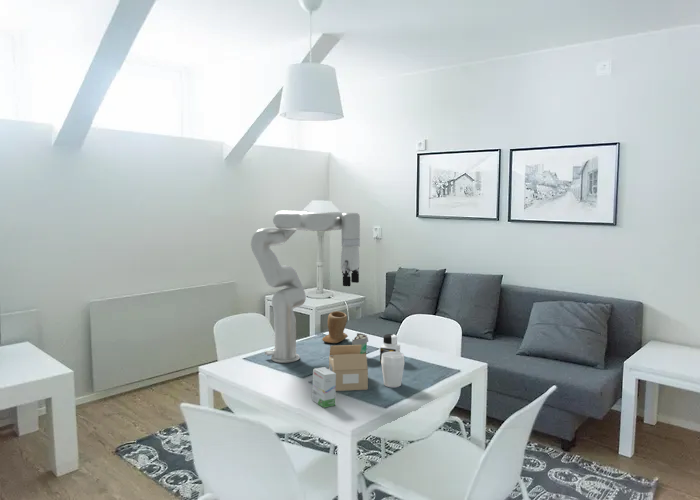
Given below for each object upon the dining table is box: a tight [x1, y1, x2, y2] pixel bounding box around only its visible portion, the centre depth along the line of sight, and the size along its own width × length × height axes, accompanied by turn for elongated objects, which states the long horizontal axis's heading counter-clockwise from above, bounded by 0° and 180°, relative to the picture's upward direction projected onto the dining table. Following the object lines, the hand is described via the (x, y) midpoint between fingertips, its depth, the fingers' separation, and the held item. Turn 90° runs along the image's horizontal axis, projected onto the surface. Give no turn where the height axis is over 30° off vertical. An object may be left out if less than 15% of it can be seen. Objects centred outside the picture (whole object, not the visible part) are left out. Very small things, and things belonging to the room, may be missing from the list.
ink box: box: [311, 366, 337, 409], centre depth 190 cm, size 9×5×12 cm, turn 33°
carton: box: [328, 355, 369, 392], centre depth 212 cm, size 13×18×8 cm
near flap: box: [333, 353, 368, 371], centre depth 203 cm, size 13×6×1 cm
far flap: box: [329, 344, 361, 356], centre depth 219 cm, size 13×6×1 cm
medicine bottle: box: [379, 333, 401, 363], centre depth 238 cm, size 7×7×12 cm
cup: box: [380, 351, 405, 389], centre depth 209 cm, size 9×9×12 cm
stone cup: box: [321, 310, 349, 344], centre depth 271 cm, size 15×12×15 cm
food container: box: [351, 332, 369, 355], centre depth 243 cm, size 12×6×10 cm, turn 168°
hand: (351, 284), depth 222 cm, fingers open, 9 cm apart
